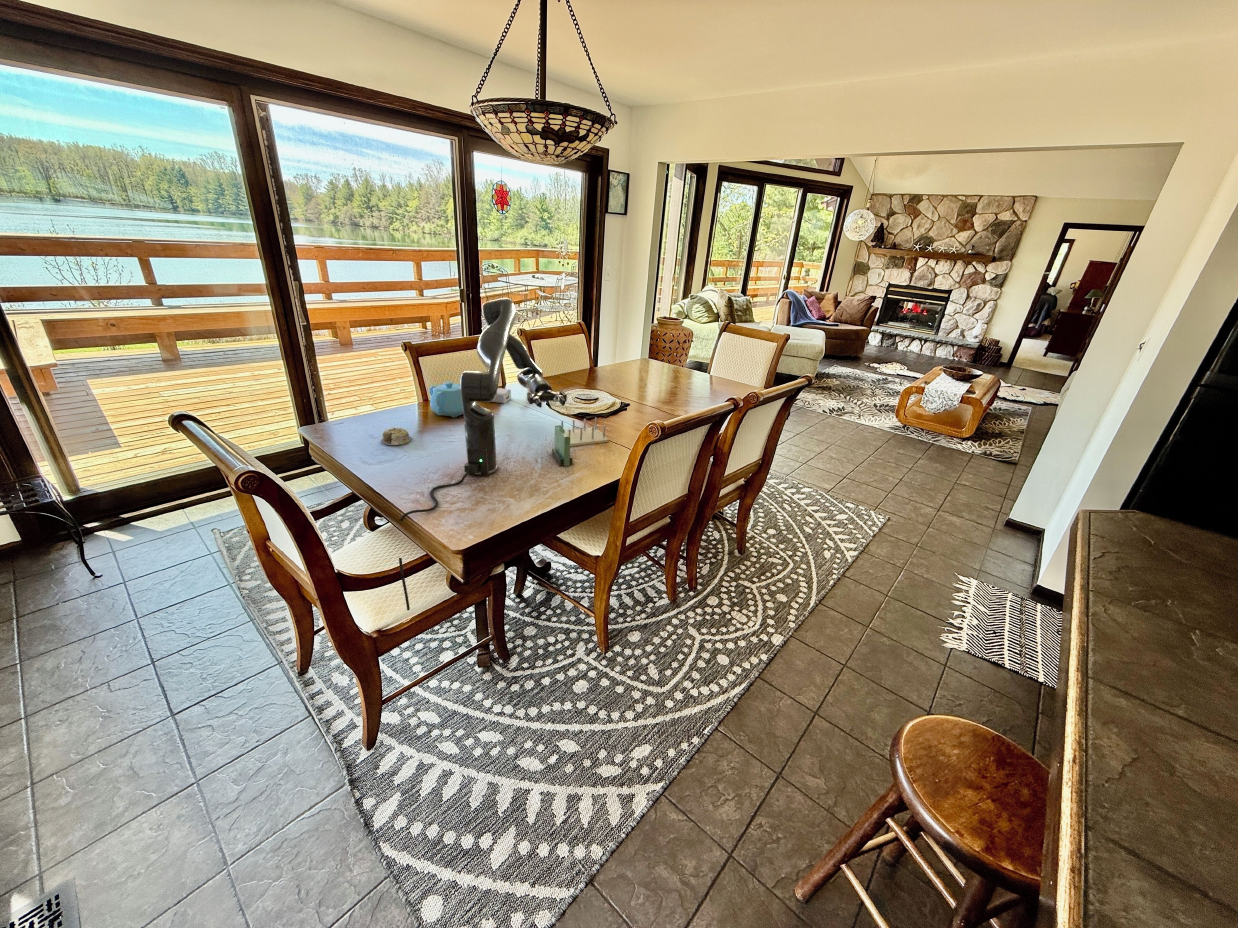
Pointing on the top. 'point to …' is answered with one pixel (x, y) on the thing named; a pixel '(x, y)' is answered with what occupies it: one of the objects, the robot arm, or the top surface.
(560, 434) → the lid
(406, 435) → the cake
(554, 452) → the pair of dark bars
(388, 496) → the top surface
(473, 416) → the robot arm
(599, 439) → the dish rack
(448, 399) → the decorative pot
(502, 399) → the charger
